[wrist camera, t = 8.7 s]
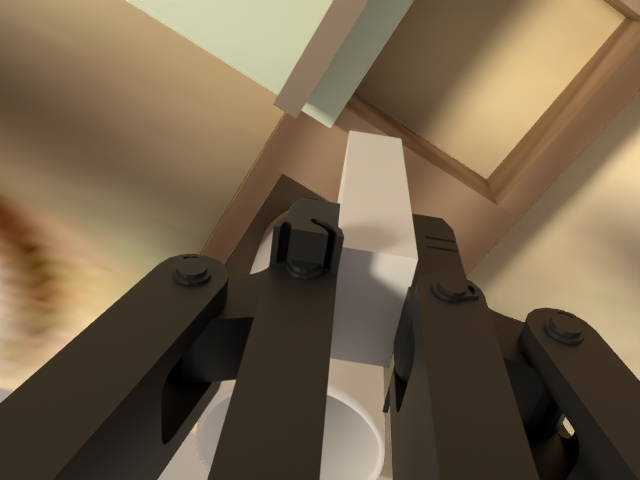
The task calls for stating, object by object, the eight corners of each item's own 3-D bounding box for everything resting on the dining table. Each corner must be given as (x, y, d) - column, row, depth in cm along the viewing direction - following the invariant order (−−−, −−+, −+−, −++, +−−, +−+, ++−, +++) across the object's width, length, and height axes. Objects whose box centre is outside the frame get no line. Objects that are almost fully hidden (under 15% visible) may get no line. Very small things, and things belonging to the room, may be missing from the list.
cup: (353, 185, 35) (340, 359, 21) (398, 287, 38) (412, 493, 25) (238, 226, 37) (158, 409, 23) (291, 319, 41) (248, 525, 27)
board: (4, 197, 37) (-28, 221, 34) (210, -396, 23) (185, -444, 20) (343, 374, 43) (340, 409, 40) (687, -11, 28) (725, -3, 25)
